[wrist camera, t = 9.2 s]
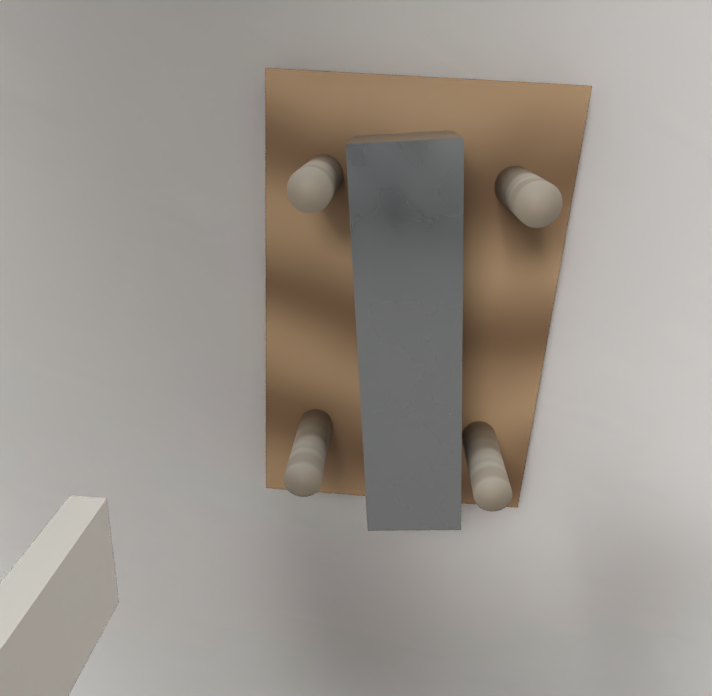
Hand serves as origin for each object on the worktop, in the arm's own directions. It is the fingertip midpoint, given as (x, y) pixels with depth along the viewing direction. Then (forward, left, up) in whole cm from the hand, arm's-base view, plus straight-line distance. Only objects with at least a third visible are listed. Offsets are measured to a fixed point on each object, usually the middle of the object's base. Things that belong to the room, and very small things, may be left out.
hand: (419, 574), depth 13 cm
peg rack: (0, 0, -18) cm, 18 cm away
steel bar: (0, 0, -17) cm, 17 cm away
